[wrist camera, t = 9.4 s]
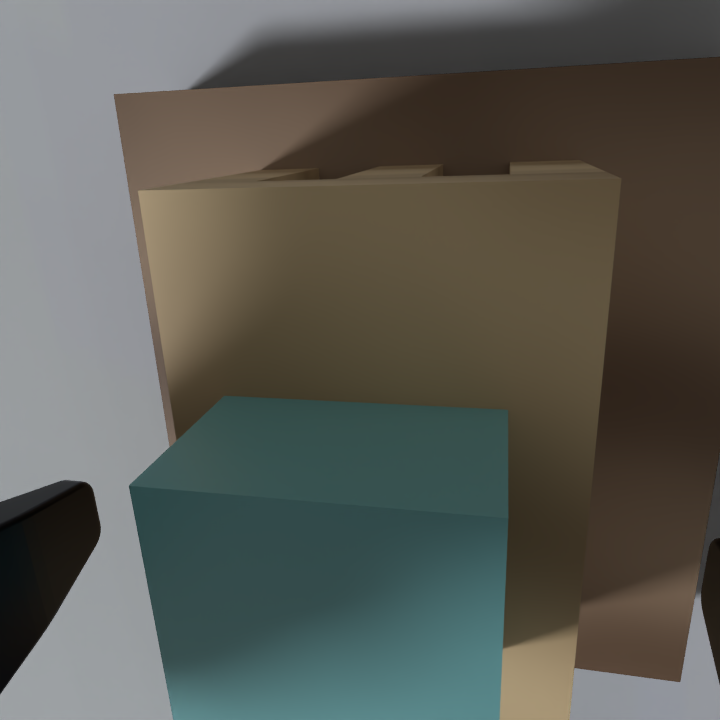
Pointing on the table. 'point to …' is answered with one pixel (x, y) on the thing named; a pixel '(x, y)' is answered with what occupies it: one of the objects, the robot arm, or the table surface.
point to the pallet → (415, 336)
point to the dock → (628, 287)
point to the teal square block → (329, 561)
